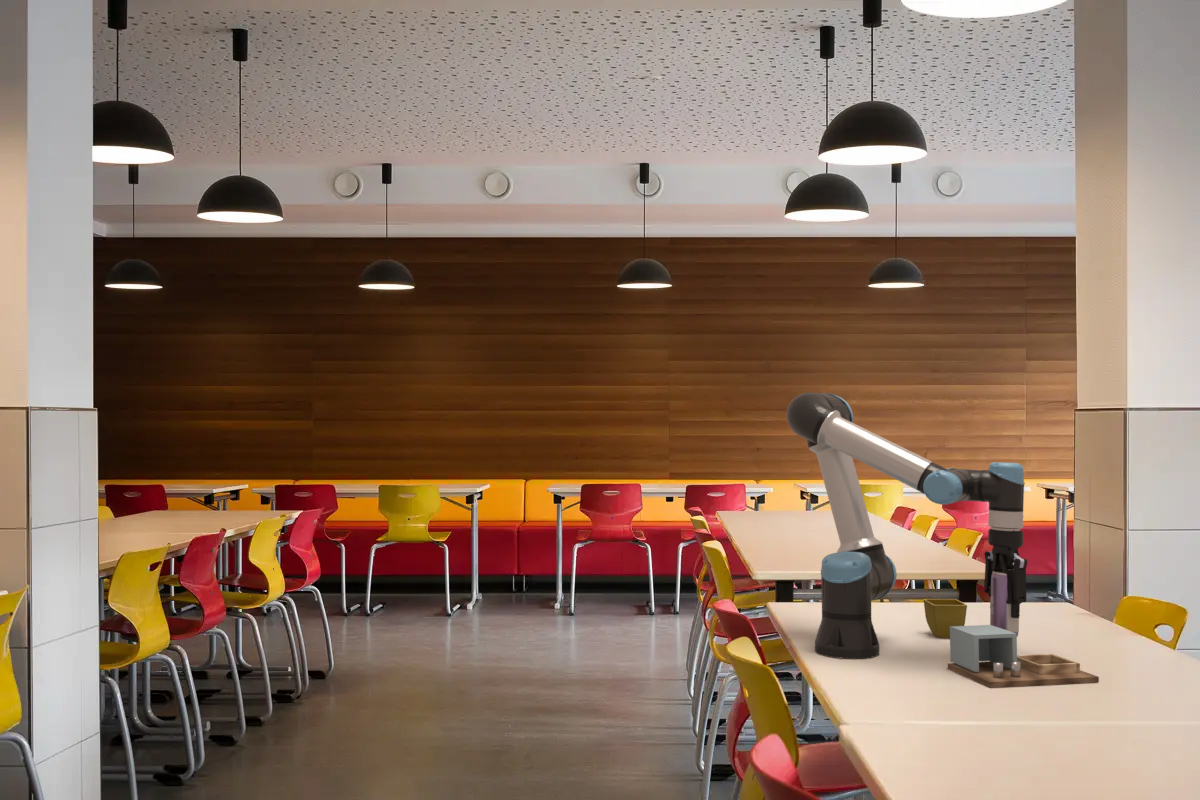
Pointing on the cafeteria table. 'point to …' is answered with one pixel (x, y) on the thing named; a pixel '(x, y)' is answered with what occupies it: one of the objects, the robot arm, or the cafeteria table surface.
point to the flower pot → (944, 615)
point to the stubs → (1014, 669)
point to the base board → (1030, 672)
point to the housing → (981, 645)
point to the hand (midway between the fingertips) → (1004, 628)
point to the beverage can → (999, 599)
